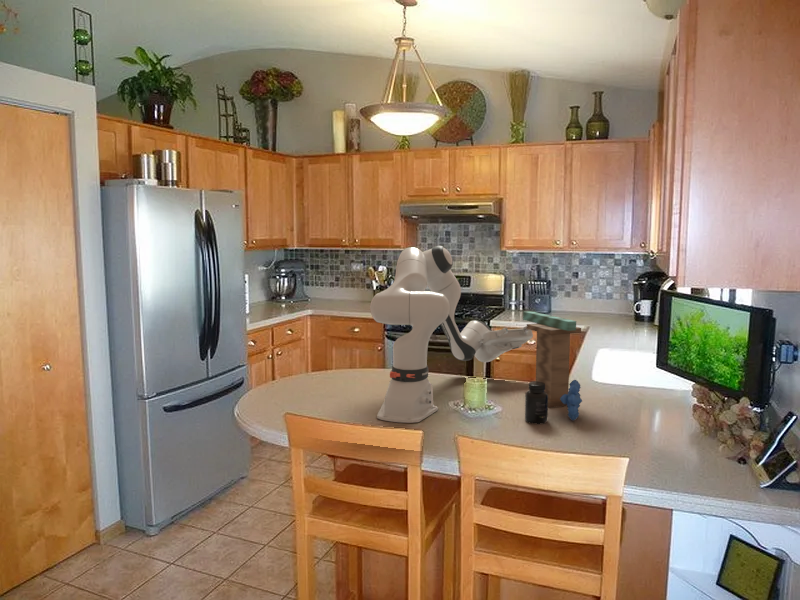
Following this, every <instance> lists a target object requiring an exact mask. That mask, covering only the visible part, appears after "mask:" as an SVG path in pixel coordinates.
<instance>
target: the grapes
mask: <svg viewBox="0 0 800 600" xmlns="http://www.w3.org/2000/svg"><path fill="white" fill-rule="evenodd" d="M581 388H582V387H581V384H580V382H579V381H578V380H577V379H572V381H571V382H570V383H569V387H568V394H564V395H563V396H562V397H561V398H560V400H561V401H562V403H563V404H567V406H566V407H567V412H568V413H567V417H569V419H570V420H571V421H576V420H577V419H578V417H579V415H580V412H579V409H580V407H581V403H582V402H583V400H582V398H581V394H580V391H581V390H580V389H581Z"/></svg>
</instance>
